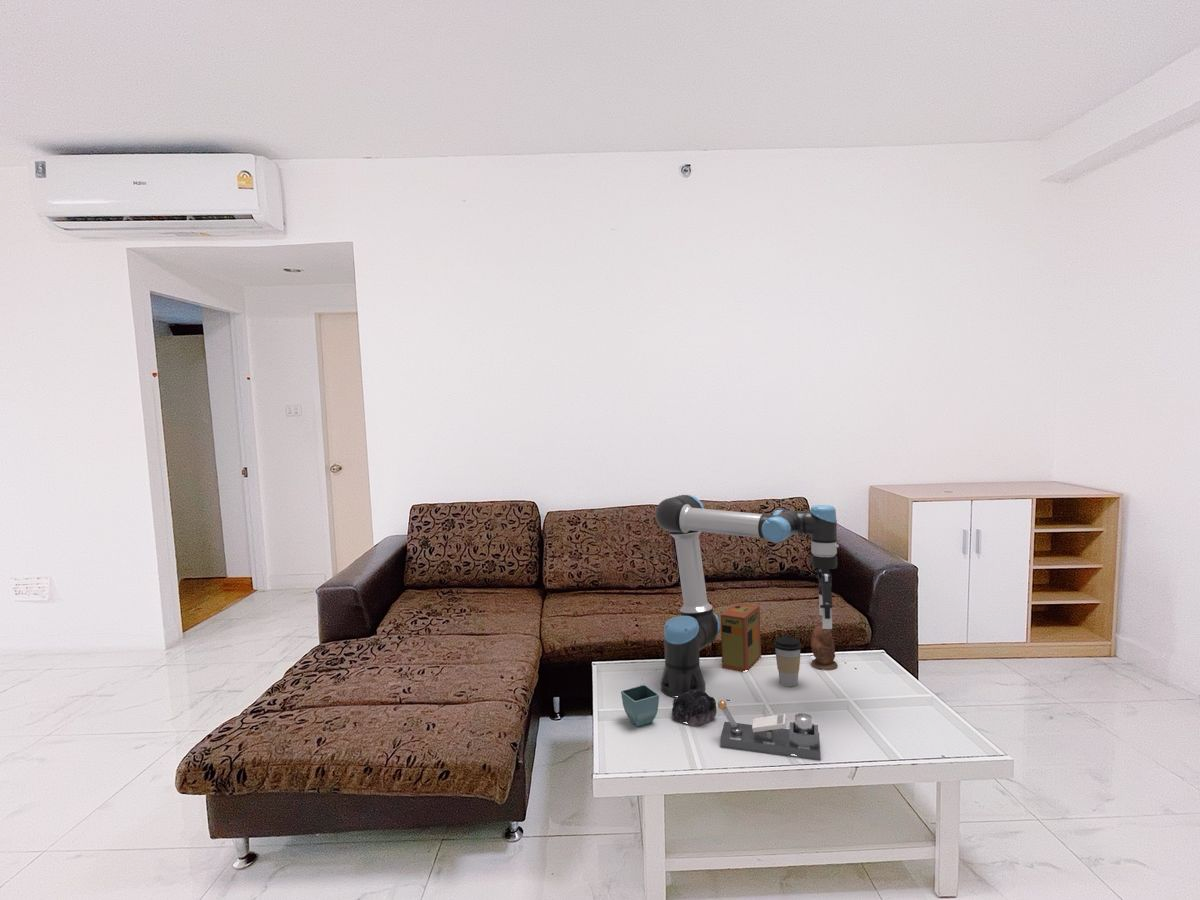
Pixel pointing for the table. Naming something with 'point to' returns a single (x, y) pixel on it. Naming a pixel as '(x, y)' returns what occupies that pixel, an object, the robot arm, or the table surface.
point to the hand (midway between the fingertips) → (825, 621)
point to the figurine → (823, 649)
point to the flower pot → (640, 704)
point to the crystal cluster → (694, 707)
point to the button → (803, 723)
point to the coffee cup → (788, 659)
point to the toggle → (727, 713)
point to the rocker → (769, 723)
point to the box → (740, 637)
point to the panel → (772, 740)
